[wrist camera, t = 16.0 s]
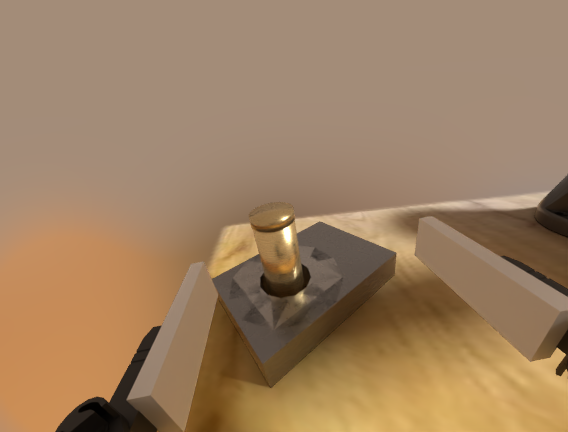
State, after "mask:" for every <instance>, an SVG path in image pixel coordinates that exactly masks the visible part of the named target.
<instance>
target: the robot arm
mask: <svg viewBox="0 0 568 432" xmlns="http://www.w3.org/2000/svg"><path fill="white" fill-rule="evenodd" d="M535 218H536V220H537V221H538V222H539V223H540V224H542V225H543V226H545V227H547V228H548V229H550V230H552V231H555V232H557V233H559V234H562V235H565V236H567V237H568V175H567V176H566V177H565V178H564V179H563V180H562V181H561V182H560V183H559V184H558V185H557V186H556V187H555V188H554V189H553V190H552V191H551V192H550V193H549V194H548V195H547V196H546V197H545V198H544V199H543V200H542V201H541V202H540V203H539V205H538V207H537V210H536V212H535ZM415 256H416V257H417V258H418V259H419V260H421V261H422V262H423V263H424V264H425V265H426V266H427V267H428V268H429V269H430V270H431V271H432V272H434V273H435V274H436V275H437V276H438V277H439V278H440V279H441V280H442V281H443V282H444V283H445V284H447V285H448V286H449V287H450V288H451V289H452V290H453V291H454V292H455V293H456V294H457V295H458V296H460V297H461V298H462V299H463V300H464V301H465V302H466V303H467V304H468V305H469V306H470V307H471V308H473V309H474V310H475V311H476V312H477V313H478V314H479V315H480V316H481V317H482V318H483V319H484V320H486V321H487V322H488V323H489V324H490V325H491V326H492V327H493V328H494V329H495V330H496V331H497V332H499V333H500V334H501V335H502V336H503V337H504V338H505V339H506V340H507V341H508V342H509V343H510V344H512V345H513V346H514V347H515V348H516V349H517V350H518V351H519V352H520V353H521V354H522V355H523V356H525V357H526V358H527V359H528V360H529V361H530V362H531V361H535V360H540V359H545V358H550V357H551V355H552V354H553V352H554V351H555V349H556V348H559V349H560V350H561V351H562V352H564V353H565V354H566V356H565V357H564V359H563V360H562V361H561V363H560V364H559V366H558V367H557V368H556V375H559V376H561V375H562V374H563V372H564V371H565V370H566V369H567V371H568V289H567V288H565V287H563V286H562V285H560V284H558V283H556V282H555V281H553V280H551V279H547V278H546V276H544V275H542V274H541V273H539V272H535V271H534V269H532V268H530V267H528V266H527V265H525V264H523V263H521V262H519V261H517V260H514V259H511V258H509V257H506V256H498V255H497V254H495V253H493V252H492V251H490V250H488V249H487V248H485V247H483V246H482V245H480V244H478V243H477V242H475V241H473V240H472V239H470V238H468V237H467V236H465V235H463V234H462V233H460V232H458V231H456V230H455V229H453V228H451V227H450V226H448V225H446V224H445V223H443V222H441V221H440V220H438V219H436V218H435V217H433V216H428V217H423V218H419V225H418V232H417V240H416V248H415ZM217 298H218V293H217V290H216V288H215V286H214V284H213V281H212V279H211V277H210V274H209V272H208V270H207V268H206V265H205V263H204V262H199V263H194V264H191V266H190V268H189V270H188V272H187V274H186V276H185V278H184V280H183V282H182V284H181V287H180V289H179V291H178V293H177V295H176V297H175V299H174V301H173V303H172V306H171V307H170V310H169V312H168V314H167V316H166V318H165V320H164V322H163V324H162V326H157V327H153V328H152V329H151V330H150V332H149V333H148V334H147V335H146V336H145V337H144V339H143V340H142V342H141V344H140V346H139V348H138V349H137V353H136V354H135V355H134V357H133V359H132V361H131V364H130V365H129V366H128V368H127V370H126V372H125V374H124V376H123V378H122V380H121V381H120V383H119V385H118V387H117V389H116V391H115V393H114V395H113V396H112V398H111V400H110V402H109V403H108V402H107V401H106V400H105V399H104V398H101V397H95V398H92V399H88V400H87V401H85V402H84V403H82V404H81V405H79V406H78V407H76V408H75V409H74V410H73V411H72V412H71V413H70V414H69V415H68V416H67V417H66V418H65V419H64V421H63V422H62V423H61V424H60V426H58V428H57V430H56V432H157V430H158V431H159V432H185V428H186V424H187V420H188V416H189V412H190V408H191V404H192V400H193V396H194V392H195V387H196V383H197V379H198V375H199V371H200V367H201V363H202V359H203V355H204V351H205V347H206V343H207V339H208V334H209V330H210V326H211V322H212V318H213V314H214V310H215V306H216V302H217Z"/></svg>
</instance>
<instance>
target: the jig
mask: <svg viewBox="0 0 568 432" xmlns="http://www.w3.org/2000/svg"><path fill="white" fill-rule="evenodd" d="M297 239H298V246H299V252H300V259H301V265H302V272H303V278H304V284H305V285H306V286H307V287H306V288H305V289H303V290H302V291H301V292H299V293H298V294H296V295H294V296H289V297H284V298H278V297H274V296H270V295H268V294H269V290H268V286H267V282H266V278H265V274H264V271H263V267H262V263H261V259H260V255H259V254H258V255H256V256H254V257H252V258H251V259H249V260H247V261H245V262H243V263H241V264H239V265H237V266H236V267H234V268H232V269H230V270H228V271H226V272H224V273H222V274H221V275H219V276H217V277H215V278H213V279H212V281H213V284H214V286H215V288H216V290H217V293H218V299H219V301H220V302H221V304H222V306H223V308H224V309H225V311H226V313H227V314H228V316H229V318H230V319H231V321H232V323H233V325H234V326H235V328H236V330H237V331H238V333H239V335H240V336H241V338H242V340H243V341H244V343H245V345H246V347H247V348H248V350H249V352H250V353H251V355H252V357H253V358H254V360H255V362H256V364H257V365H258V367H259V369H260V370H261V372H262V374H263V375H264V377H265V379H266V381H267V382H268V384H269V386H270V387H272V386H273V385H275V384H276V383H277V382H278V381H279V380H280V379H281V378H282V377H283V376H284V375H285V374H287V373H288V372H289V371H290V370H291V369H292V368H293V367H294V366H295V365H296V364H298V363H299V362H300V361H301V360H302V359H303V358H304V357H305V356H306V355H307V354H308V353H310V352H311V351H312V350H313V349H314V348H315V347H316V346H317V345H318V344H319V343H320V342H322V341H323V340H324V339H325V338H326V337H327V336H328V335H329V334H330V333H331V332H333V331H334V330H335V329H336V328H337V327H338V326H339V325H340V324H341V323H342V322H343V321H345V320H346V319H347V318H348V317H349V316H350V315H351V314H352V313H353V312H354V311H355V310H357V309H358V308H359V307H360V306H361V305H362V304H363V303H364V302H365V301H366V300H368V299H369V298H370V297H371V296H372V295H373V294H374V293H375V292H376V291H377V290H378V289H380V288H381V287H382V286H383V285H384V284H385V283H386V282H387V281H388V280H389V279H390V278H392V277H393V276H394V274H395V264H396V252H393V251H391V250H388V249H386V248H383V247H381V246H379V245H376V244H374V243H371V242H369V241H366V240H364V239H362V238H359V237H357V236H354V235H352V234H349V233H347V232H344V231H342V230H340V229H337V228H335V227H332V226H330V225H327V224H325V223H323V222H318V223H316V224H314V225H312V226H310V227H309V228H307V229H305V230H303V231H301V232H299V233H297Z"/></svg>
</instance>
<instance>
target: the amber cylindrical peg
mask: <svg viewBox="0 0 568 432" xmlns="http://www.w3.org/2000/svg"><path fill="white" fill-rule="evenodd" d="M249 220H250V224H251V227H252V229H253V232H254V236H255V240H256V244H257V247H258V251H259V255H260V259H261V263H262V267H263V271H264V274H265V278H266V282H267V286H268V290H269V294H270V296H274V297H278V298H284V297H289V296H294V295H296V294H298V293H299V292H301V291H302V290H303V289H305V284H304V278H303V272H302V265H301V259H300V252H299V246H298V239H297V233H296V227H295V215H294V209H293V206H292V205H291V204H289V203H283V202H274V203H268V204H265V205H261V206H259V207H257V208H255V209H253V210H252V211H251V212H250V214H249Z"/></svg>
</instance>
